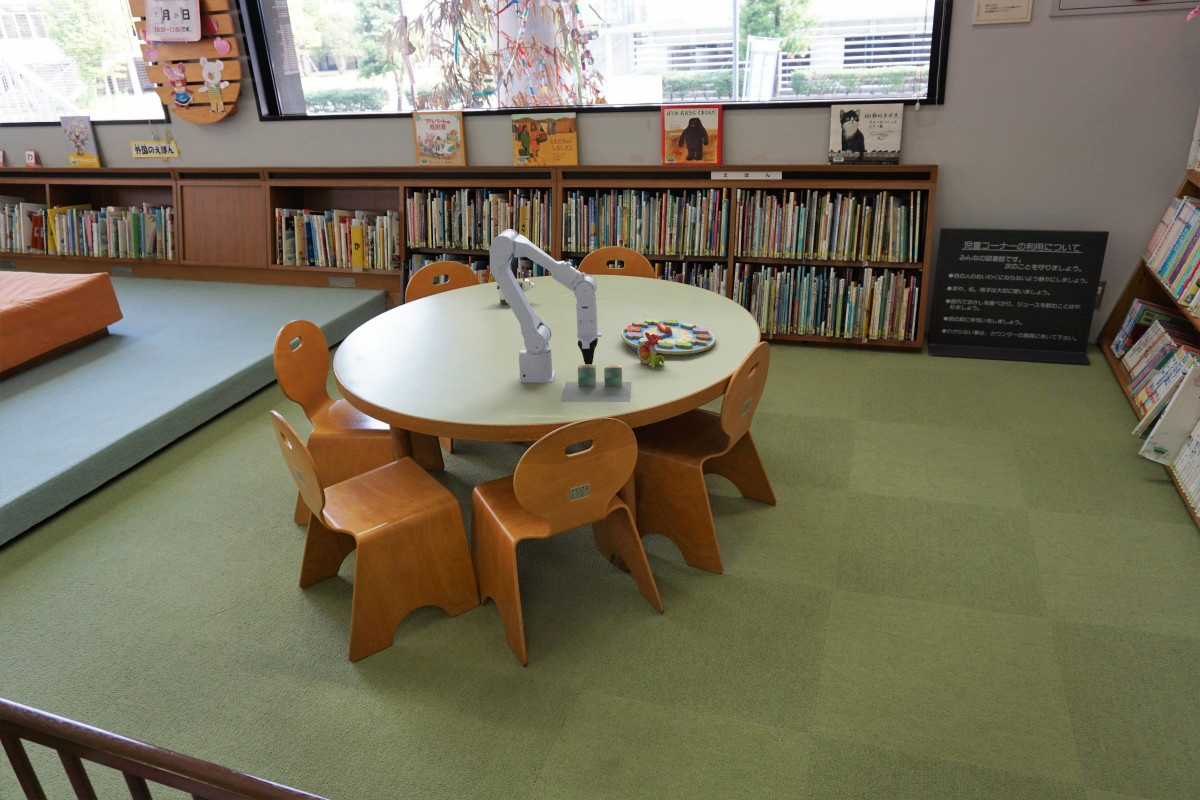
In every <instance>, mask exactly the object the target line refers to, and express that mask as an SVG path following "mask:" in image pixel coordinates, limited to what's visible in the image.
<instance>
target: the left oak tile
mask: <svg viewBox="0 0 1200 800" xmlns="http://www.w3.org/2000/svg"><path fill="white" fill-rule="evenodd" d="M596 367H597V365H596V364H594V365H593V364H592V365H585V364H583V365H582V364H581V365H579V364H578V365H577V382H578V387H596V382H597V368H596Z"/></svg>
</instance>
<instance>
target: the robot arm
mask: <svg viewBox="0 0 1200 800" xmlns="http://www.w3.org/2000/svg"><path fill="white" fill-rule="evenodd" d="M488 251H489V271H490V273H491V275H492V277H493V279H494V280H495V281H496V284H497V285H499V287H500V289H501V291H502V292H503V294H504V296H505V298H506V301H507V303H508V306H509V307H510V308H511V310H512V312H513V314H514V315H515V317H516V319H517V321H518V323H519V325H520V332H521V335H522V337H523V343H524V347H525V349H520V350H519V355H518V364H519V382H520V383H553V381H554V378H555V374H556V371H554V370H553V361H552V360H553V359H552V346H551V345H550V343H549V341H551V338H552V331H551V328H550V326H548V325H547V324H546V323H544V321H543V320H542V318H541V317H540V316H538V315H537V314H536V313H535V311H534V308H533V307H532V305H531V303H530V302H529V300H528V298H527V296H526V295H525V292H523V291H522V289H521V287H520V285H519V284H518V282H517V281H518V280H517V279H516V277H515V275H514V272H513V270H512V269H511V267H510V266H511V262H512V260H513V258H528V259H529V260H531V261H533V262H534V263H536V264H537V265H539V266H540V267H543V268H544V269H546V270H547V271H549V272H550V274H551V278H552V279H554V280H555V281H557V283H560V284H561V285H562V286H563V287H565V288H567V289H568V290H569V291H572V292H573V295H574V297H575V298H576V303H575V307H576V325H577V326H576V327H577V329H576V330H577V334H576V338H577V339H578V341H577V347H579V350H580V351H581V354H582V359H583V362H584V365H593V363H594V358H595V357H594V356H595V350H596V348H597V346H598V342H599V338H602V334H603V333H602V332H598V312H597V311H598V310H597V308H598V307H597V297H596V291H597V287H598V283H597V281H596V279H595V278H594V277H593V275H590V274H587V273H586V272H584V271H582V272H581V271H580V270H579V269H576V268H575V267H574V266H572V264H573V263H571V262H570V261H565V260H560V261H559V260H555V259H554V258H553V257H552V256H550V255H549V254H548V253H546V252H545V251H544V250H543V249H541V248H539V246H537V245H535V243H533V242H531V241H530V240H529V239H528V238H527V237H525V235H522V234H519V232H517V231H516V230H514V229H511V228H507V229H504V230H503V231H501V233H499V235H497V236H495V237H494V238H493V239H492V241H491V244H490V246H489V248H488Z"/></svg>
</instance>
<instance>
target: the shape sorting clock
mask: <svg viewBox="0 0 1200 800" xmlns="http://www.w3.org/2000/svg"><path fill="white" fill-rule="evenodd" d="M646 332H647V333H649V334H650V335H652V334H655V335H660V336H661V338H660V339H659V340H658V343H659V345H656V344H654V346H655V349H656V354H657V353H662V354H665V355H681V354H695V355H697V353H700V352H705V351H706V350H709V349H711V348H712V347H713V346H714V345H715V342H716V337H715V335H714V334H713V332H711V331H710V330H709V329H708V328H704V327H701V326H699V325H697V324H696V323H688V322H683V321H678V320H676V319H664V320H663V319H652V318H646V319H644V320H642V321H632V322H631V323H630V324H628V325H626V326H625V327H622V330H621V332H620V337H621V339H622V340H623V342H625V344H627V345H629V346H630V347H632V349H633V351H634V353H636V352H637V349H638V346H639V344H640V343H641V342H642V341H648V339H647V337H646V335H645V333H646ZM644 347H646V346H644Z"/></svg>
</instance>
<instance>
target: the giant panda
mask: <svg viewBox="0 0 1200 800" xmlns="http://www.w3.org/2000/svg"><path fill="white" fill-rule="evenodd" d="M517 282H518V284H519V285H520V287H521V289H522V291H523V293H525V292H528V291H530V290H531V289H533V288H534V287H535V286H536V284H535V283H533V282H530V280H529V279H528V278H525V277H523V278H522V281H520V280H517ZM496 290H498V296H499V301H500V305H501V306H509V303H508V301H507V300H506V298H505V296H504V294H503V292H502V291H501V289H500V287H499V285H498V284H497V285H496Z"/></svg>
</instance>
